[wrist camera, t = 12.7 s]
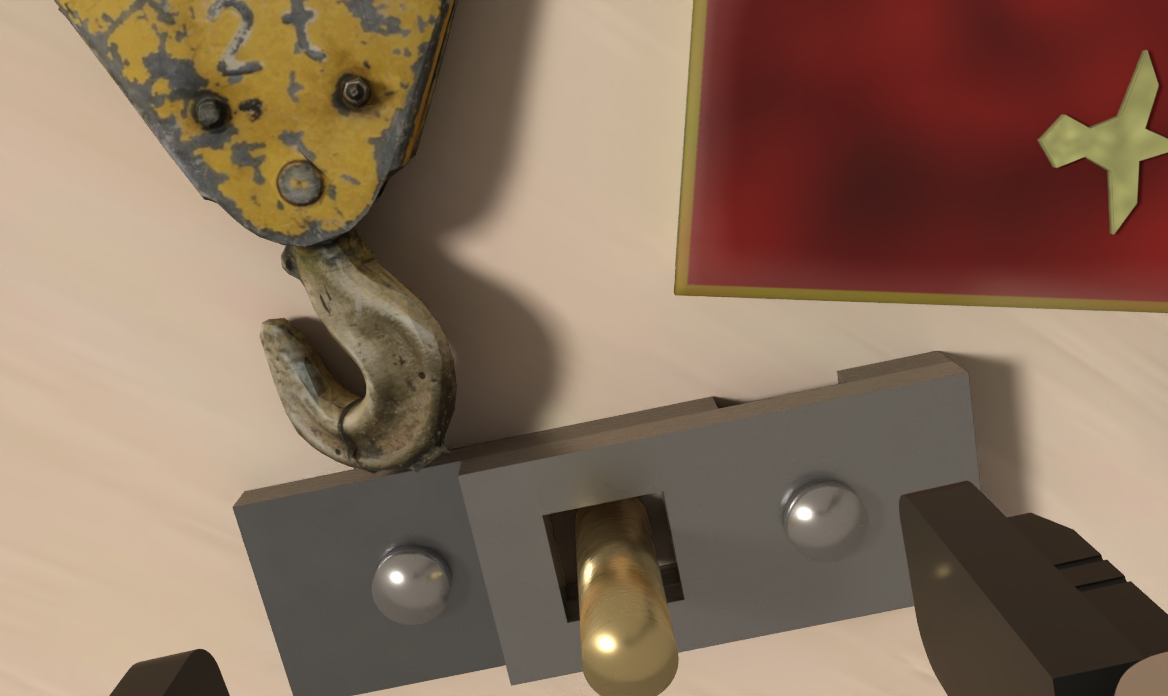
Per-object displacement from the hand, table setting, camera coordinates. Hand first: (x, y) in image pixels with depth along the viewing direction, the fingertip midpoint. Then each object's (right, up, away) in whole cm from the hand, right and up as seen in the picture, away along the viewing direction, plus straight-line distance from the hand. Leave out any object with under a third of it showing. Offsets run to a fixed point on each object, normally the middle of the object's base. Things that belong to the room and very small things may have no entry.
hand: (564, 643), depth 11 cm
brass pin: (+1, -4, +29) cm, 30 cm away
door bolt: (+1, -4, +29) cm, 30 cm away
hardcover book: (+14, +12, +26) cm, 32 cm away
